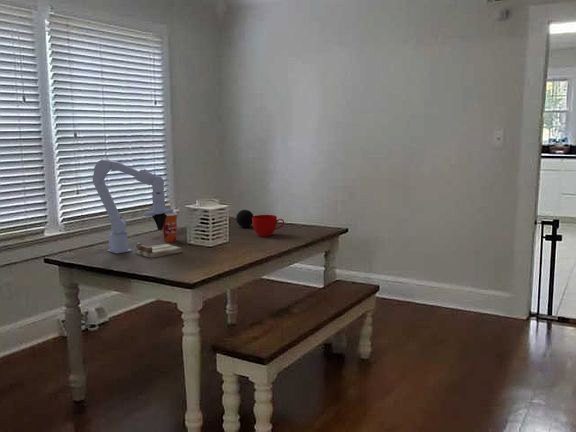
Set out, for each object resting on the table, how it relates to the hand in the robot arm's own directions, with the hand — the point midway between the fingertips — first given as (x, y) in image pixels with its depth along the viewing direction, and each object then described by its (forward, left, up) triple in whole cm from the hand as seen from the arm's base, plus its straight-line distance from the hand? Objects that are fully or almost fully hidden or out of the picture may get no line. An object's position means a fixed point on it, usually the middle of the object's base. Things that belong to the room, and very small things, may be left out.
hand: (160, 229), depth 286 cm
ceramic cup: (+13, +57, -10) cm, 59 cm away
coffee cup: (-14, +14, -10) cm, 22 cm away
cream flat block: (+6, -5, -9) cm, 12 cm away
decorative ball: (-15, +64, -10) cm, 66 cm away
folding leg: (+5, -12, -7) cm, 15 cm away
